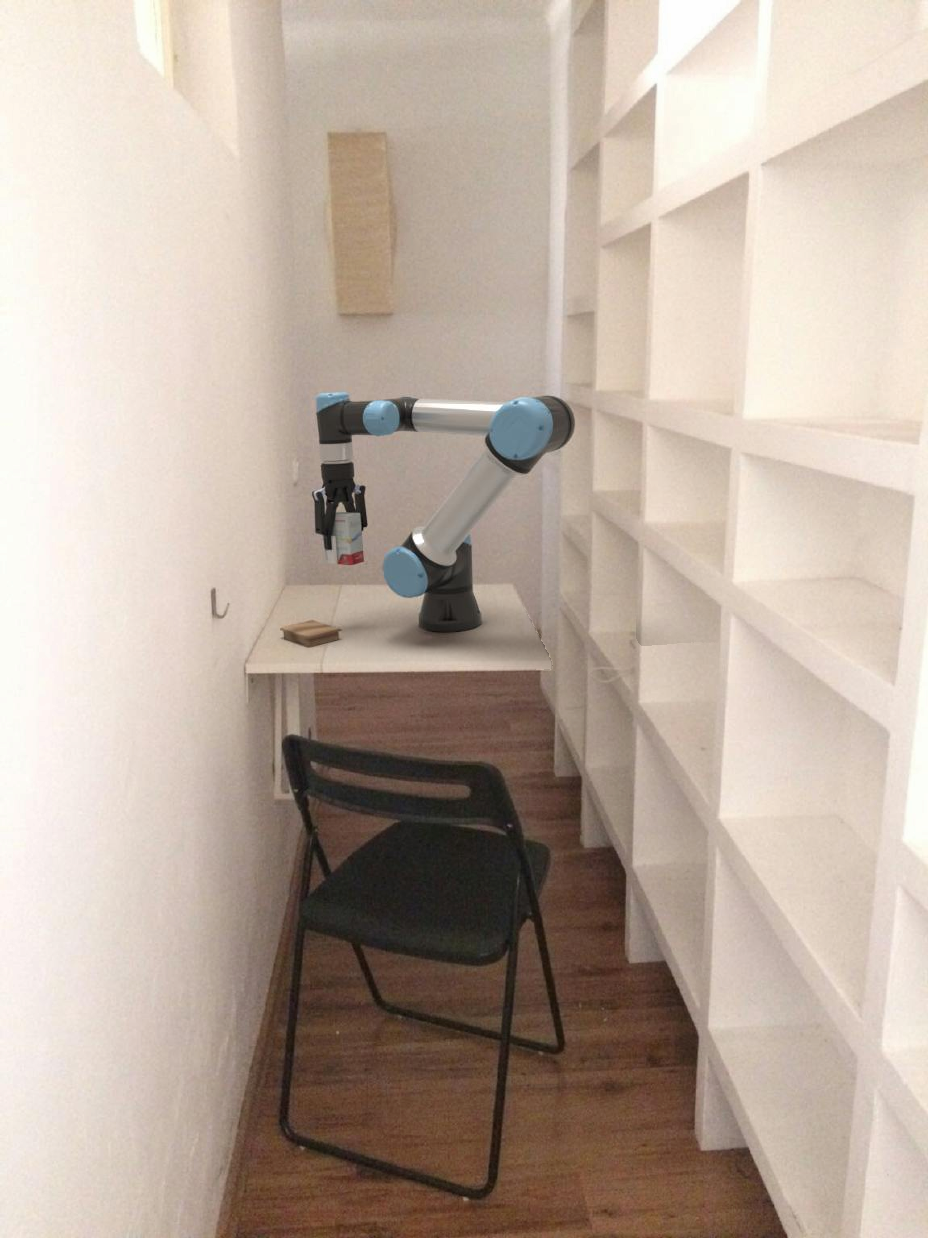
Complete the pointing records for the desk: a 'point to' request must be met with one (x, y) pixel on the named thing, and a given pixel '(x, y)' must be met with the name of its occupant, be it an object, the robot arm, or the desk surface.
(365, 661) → the desk surface
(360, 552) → the ink box
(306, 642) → the walnut stand
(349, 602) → the desk surface
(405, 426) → the robot arm
